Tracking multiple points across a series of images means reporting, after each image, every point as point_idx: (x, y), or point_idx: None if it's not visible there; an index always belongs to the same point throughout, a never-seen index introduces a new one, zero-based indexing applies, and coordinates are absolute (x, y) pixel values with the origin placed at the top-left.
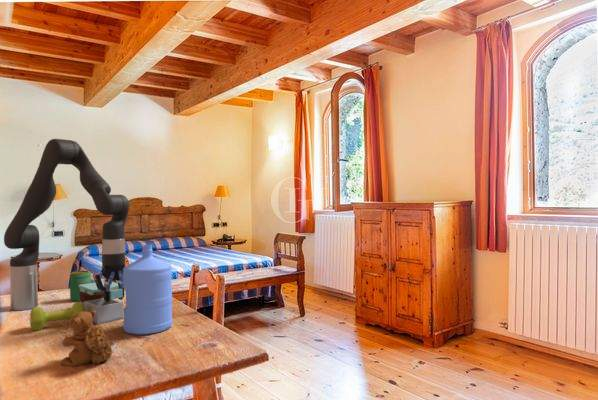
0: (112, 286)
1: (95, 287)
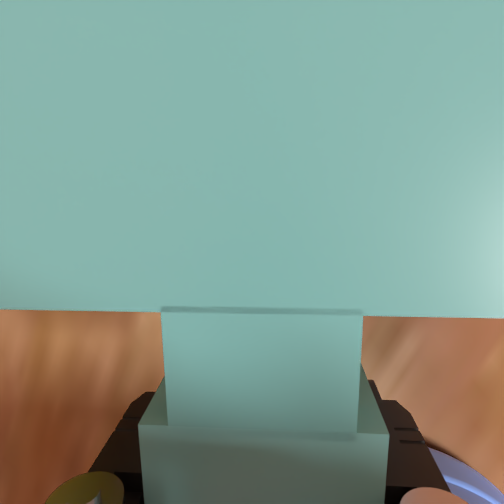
0: (379, 265)
1: (29, 46)
